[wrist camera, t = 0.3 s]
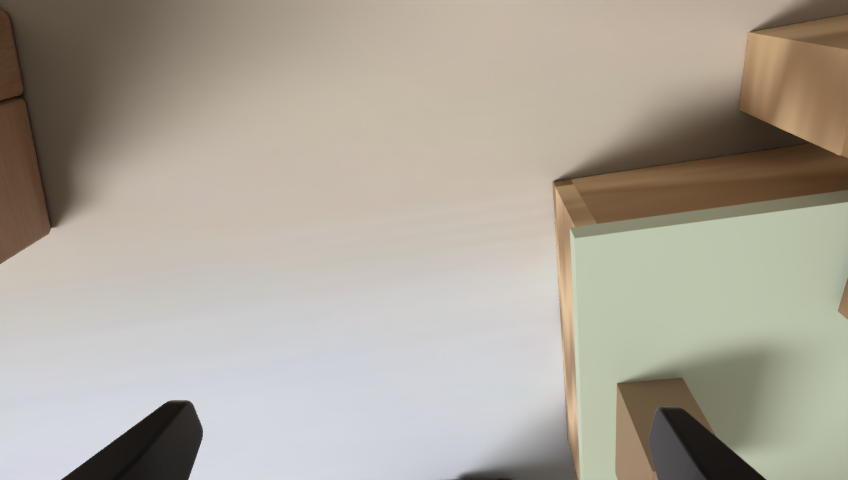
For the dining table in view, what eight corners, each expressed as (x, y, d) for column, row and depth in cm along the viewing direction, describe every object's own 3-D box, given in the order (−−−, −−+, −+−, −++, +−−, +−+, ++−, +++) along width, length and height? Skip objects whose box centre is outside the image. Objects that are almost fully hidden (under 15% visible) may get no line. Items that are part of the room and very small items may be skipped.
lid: (832, 507, 24) (912, 619, 20) (581, 519, 26) (606, 625, 21) (964, 173, 15) (1160, 248, 11) (569, 227, 17) (608, 309, 13)
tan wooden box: (774, 422, 28) (898, 594, 20) (567, 438, 30) (608, 601, 22) (881, 8, 17) (1240, 31, 9) (546, 69, 19) (612, 133, 11)
